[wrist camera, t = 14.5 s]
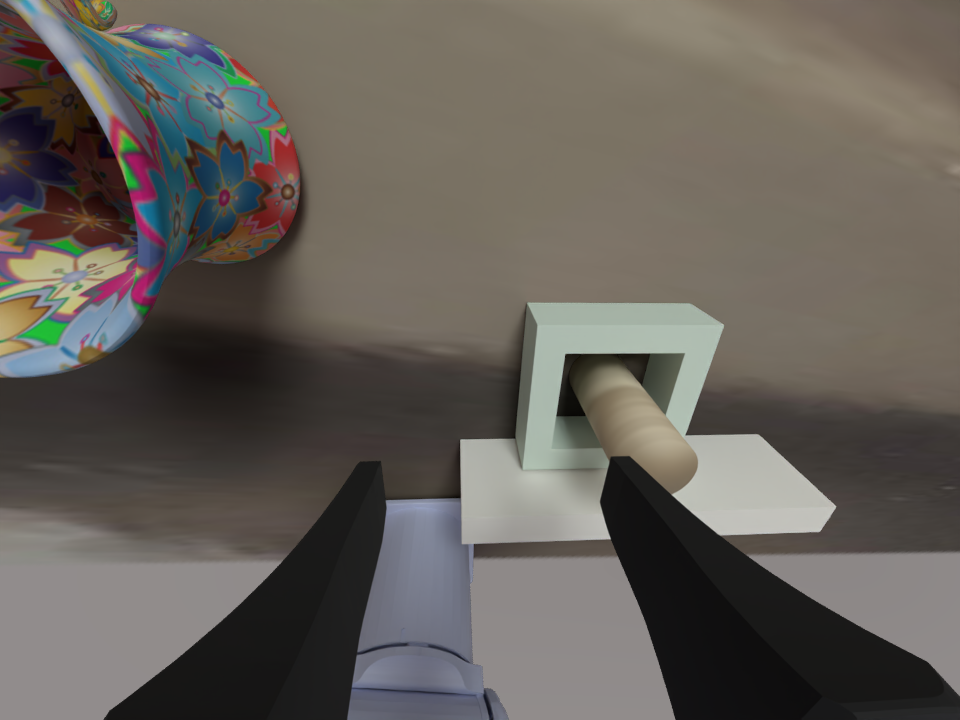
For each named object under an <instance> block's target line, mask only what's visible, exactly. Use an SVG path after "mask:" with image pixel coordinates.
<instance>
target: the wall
mask: <svg viewBox="0 0 960 720" xmlns="http://www.w3.org/2000/svg"><path fill="white" fill-rule="evenodd" d="M684 439H685V441H686V442H687V443H688V444H689V445H690V447H691V448H692V449H693V450H694V452H695V453H696V455H697V458H698V468H697V471H696V473H695V475H694V477H693V478H692V480H691V481H690V482H689V483H688V484H687V485H686V486H685V487H683V488H682V489H681V490H679V491H678V492H676V493H674V494H672V496H674V497H675V498H676V499H677V500H678V501H679V502H680V503H681V504H683V505H684V506H685V507H686V508H687V509H688V510H689V511H691V512H692V513H693V514H694V515H695V516H696V517H698V518H699V519H700V520H701V521H702V522H704V523H705V524H706V525H707V526H709V527H710V528H711V529H712V530H714V531H715V532H716V533H717V534H718V535H741V534H770V533H798V532H820V531H821V529H822V528H823V526H824V525H825V523H826V522H827V520H828V519H829V517H830V516H831V514H832V513H833V511H834V510H835V508H836V506H835V505H834V504H833V503H832V502H831V501H830V500H829V499H828V498H826V497H825V496H824V495H823V494H822V493H821V492H820V491H819V490H818V489H817V488H816V487H815V486H814V485H812V484H811V483H810V482H809V481H808V480H807V479H806V478H805V477H804V476H803V475H802V474H801V473H800V472H798V471H797V470H796V469H795V468H794V467H793V466H792V465H791V464H790V463H789V462H788V461H787V460H785V459H784V458H783V457H782V456H781V455H780V454H779V453H778V452H777V451H776V450H775V449H774V448H773V447H771V446H770V445H769V444H768V443H767V442H766V441H765V440H764V439H763V438H762V437H761V436H760V435H759V434H748V435H692V436H685V437H684ZM607 470H608V468H581V469H537V470H522V465H521V460H520V456H519V451H518V446H517V442H516V439H469V440H460V476H461V536H462V544H484V543H512V542H541V541H569V540H598V539H611V538H610V536H609V533H608V530H607V527H606V523H605V520H604V516H603V513H602V509H601V505H600V498H601V494H602V490H603V486H604V482H605V478H606V474H607Z"/></svg>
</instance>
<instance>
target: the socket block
mask: <svg viewBox="0 0 960 720" xmlns="http://www.w3.org/2000/svg"><path fill="white" fill-rule="evenodd" d="M723 327H724V325H723V324H722V323H720V322H718V321H717V320H715V319H714V318H712V317H711V316H709V315H708V314H706V313H704V312H703V311H701V310H700V309H698V308H697V307H695V306H693V305H692V304H690V303H527V308H526V320H525V331H524V342H523V354H522V365H521V377H520V388H519V399H518V411H517V422H516V433H515V437H516V442H517V446H518V451H519V456H520V460H521V465H522V470H537V469H581V468H608V466H609V460H608V458H607V456H606V454H605V452H604V450H603V448H602V446H601V444H600V442H599V440H598V438H597V436H596V434H595V432H594V430H593V428H592V426H591V424H590V422H589V420H588V418H587V416H556V414H557V407H558V400H559V393H560V387H561V380H562V373H563V366H564V360H565V354H615V353H650V357H649V360H648V364H647V368H646V372H645V376H644V379H643V383H642V387H643V388H644V389H645V391H646V392H647V393H648V394H649V396H650V397H651V398H652V399H653V401H654V402H655V403H656V404H657V406H658V407H659V408H660V409H661V411H662V412H663V413H664V414H665V416H666V417H667V418H668V419H669V421H670V422H671V423H672V424H673V426H674V427H675V428H676V429H677V431H678V432H679V433H680V434H681V436H682V437H683V438H684V437H685V434H686V431H687V429H688V426H689V423H690V420H691V417H692V415H693V412H694V409H695V406H696V403H697V400H698V398H699V395H700V392H701V389H702V386H703V384H704V381H705V378H706V375H707V372H708V370H709V367H710V364H711V361H712V358H713V355H714V353H715V350H716V347H717V344H718V341H719V339H720V336H721V333H722V330H723Z"/></svg>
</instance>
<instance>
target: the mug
mask: <svg viewBox="0 0 960 720" xmlns="http://www.w3.org/2000/svg"><path fill="white" fill-rule="evenodd" d="M60 1H61V3H62V4H63V6H64V7H65V8H66V10H67V11H68V13H69V14H70V15H71V17H70V16H69V15H67V14H66V13H64V12H63V11H61V10H60V9H58V8H57V7H56V6H54V5H53V4H52V3H50V2H49V1H47V0H0V377H4V378H24V377H39V376H45V375H52V374H59V373H63V372H67V371H71V370H75V369H78V368H81V367H84V366H86V365H89V364H92V363H94V362H96V361H98V360H100V359H102V358H104V357H105V356H107V355H109V354H111V353H112V352H113V351H115V350H116V349H118V348H119V347H121V346H122V345H123V344H124V343H125V342H127V341H128V340H129V339H130V338H131V337H132V336H133V335H134V334H135V333H136V331H137V330H138V329H139V328H140V326H141V325H142V324H143V323H144V321H145V320H146V318H147V316H148V315H149V313H150V311H151V309H152V308H153V306H154V303H155V301H156V298H157V296H158V293H159V291H160V288H161V285H162V283H163V281H164V280H165V278H166V277H167V276H168V274H169V273H170V272H171V271H172V270H174V269H175V268H176V267H177V266H179V265H180V264H182V263H184V262H186V261H188V260H194V261H198V262H204V263H213V264H229V263H237V262H243V261H246V260H250V259H252V258H255V257H257V256H259V255H261V254H263V253H265V252H266V251H268V250H269V249H271V248H272V247H273V246H274V245H275V244H277V243H278V242H279V240H280V239H281V238H282V237H283V236H284V234H285V233H286V231H287V230H288V228H289V226H290V225H291V223H292V221H293V218H294V216H295V213H296V210H297V206H298V202H299V195H300V170H299V163H298V158H297V154H296V149H295V146H294V143H293V140H292V137H291V135H290V132H289V130H288V127H287V125H286V123H285V121H284V119H283V117H282V115H281V114H280V112H279V110H278V109H277V107H276V105H275V104H274V102H273V101H272V99H271V98H270V97H269V95H268V94H267V92H266V91H265V90H264V89H263V87H262V86H261V85H260V84H259V83H258V81H257V80H256V79H255V78H254V77H253V76H252V75H251V74H250V73H249V72H248V71H247V70H246V69H245V68H244V67H243V66H242V65H241V64H239V63H238V62H237V61H236V60H235V59H233V58H232V57H231V56H230V55H228V54H227V53H226V52H224V51H223V50H221V49H220V48H218V47H217V46H215V45H214V44H212V43H210V42H208V41H206V40H204V39H203V38H201V37H198V36H196V35H194V34H191V33H189V32H186V31H183V30H180V29H177V28H173V27H169V26H164V25H156V24H134V25H127V26H122V27H119V28H115V29H112V30H110V31H108V32H106V33H104V32H101V31H104V30H107V29H109V28H111V27H112V26H113V24H114V23H115V21H116V18H117V11H116V9H115V8H114V6H113V5H112V4H111V3H109V2H107V1H103V0H93V1H89V0H60Z"/></svg>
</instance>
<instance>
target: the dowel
mask: <svg viewBox="0 0 960 720" xmlns="http://www.w3.org/2000/svg"><path fill="white" fill-rule="evenodd" d="M569 381H570V384H571V386H572V388H573V390H574V392H575V394H576V396H577V398H578V400H579V402H580V404H581V406H582V408H583V410H584V412H585V414H586V416H587V418H588V420H589V422H590V424H591V426H592V428H593V430H594V432H595V434H596V436H597V438H598V440H599V442H600V444H601V446H602V448H603V450H604V452H605V454H606V456H607V458H608V460H609V462H610V458H611V456H630V457H631V458H632V459H634V460H635V461H636V462H637V463H638V464H639V465H640V466H641V467H642V468H643V469H644V470H645V471H647V472H648V473H649V474H650V475H651V476H652V477H653V478H654V479H655V480H656V481H657V482H658V483H659V484H660V485H662V486H663V487H664V488H665V489H666V490H667V491H668V492H669V493H670V494H671V495H672V494H674V493H676V492H678V491H679V490H681V489H682V488H683V487H685V486H686V485H687V484H688V483H689V482H690V481H691V480H692V478H693V477H694V475H695V473H696V471H697V468H698V458H697V455H696V453H695V452H694V450H693V449H692V448H691V447H690V445H689V444H688V443H687V442H686V441H685V439H684V438H683V437H682V436H681V434H680V433H679V432H678V431H677V429H676V428H675V427H674V426H673V424H672V423H671V422H670V421H669V419H668V418H667V417H666V416H665V414H664V413H663V412H662V411H661V409H660V408H659V407H658V406H657V404H656V403H655V402H654V401H653V399H652V398H651V397H650V396H649V394H648V393H647V392H646V391H645V389H644V388H643V387H642V386H641V384H640V383H639V382H638V381H637V380H636V378H635V377H634V376H633V375H632V373H631V372H630V371H629V370H628V368H627V367H626V366H625V365H624V363H623V362H622V361H621V360H620V358H619V357H618V356H617V355H616V354H583V355H582V356H580V357H579V358H578V359H577V360H576V361H575V362H574V363H573V365H572V367H571V369H570V372H569Z"/></svg>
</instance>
